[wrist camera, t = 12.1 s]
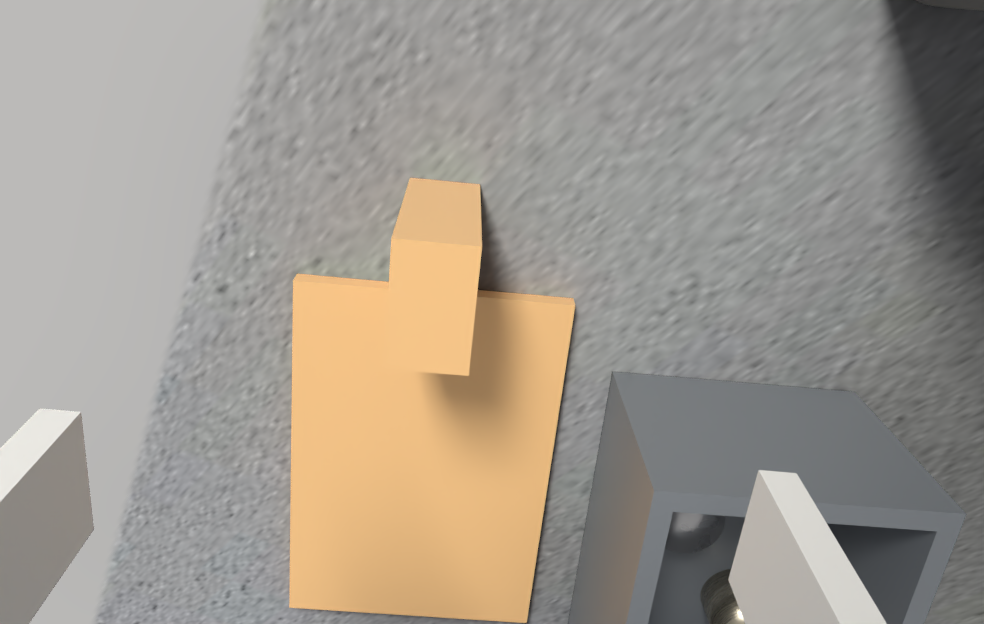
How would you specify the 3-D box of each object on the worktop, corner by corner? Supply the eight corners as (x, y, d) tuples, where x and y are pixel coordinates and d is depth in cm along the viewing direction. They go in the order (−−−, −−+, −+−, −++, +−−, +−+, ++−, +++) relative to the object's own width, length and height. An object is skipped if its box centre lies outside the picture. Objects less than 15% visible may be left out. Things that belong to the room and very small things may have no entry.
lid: (298, 166, 32) (246, 224, 25) (588, 195, 33) (622, 259, 26) (292, 596, 40) (252, 735, 33) (525, 611, 41) (537, 751, 34)
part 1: (646, 452, 37) (660, 491, 34) (712, 458, 37) (731, 497, 34) (635, 508, 38) (648, 550, 35) (699, 513, 38) (716, 555, 35)
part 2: (707, 566, 39) (725, 611, 36) (768, 570, 39) (790, 615, 37) (694, 615, 40) (711, 662, 38) (754, 619, 40) (775, 666, 38)
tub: (612, 371, 36) (653, 490, 28) (854, 391, 37) (966, 513, 28) (563, 649, 42) (585, 816, 34) (771, 663, 43) (844, 829, 34)
